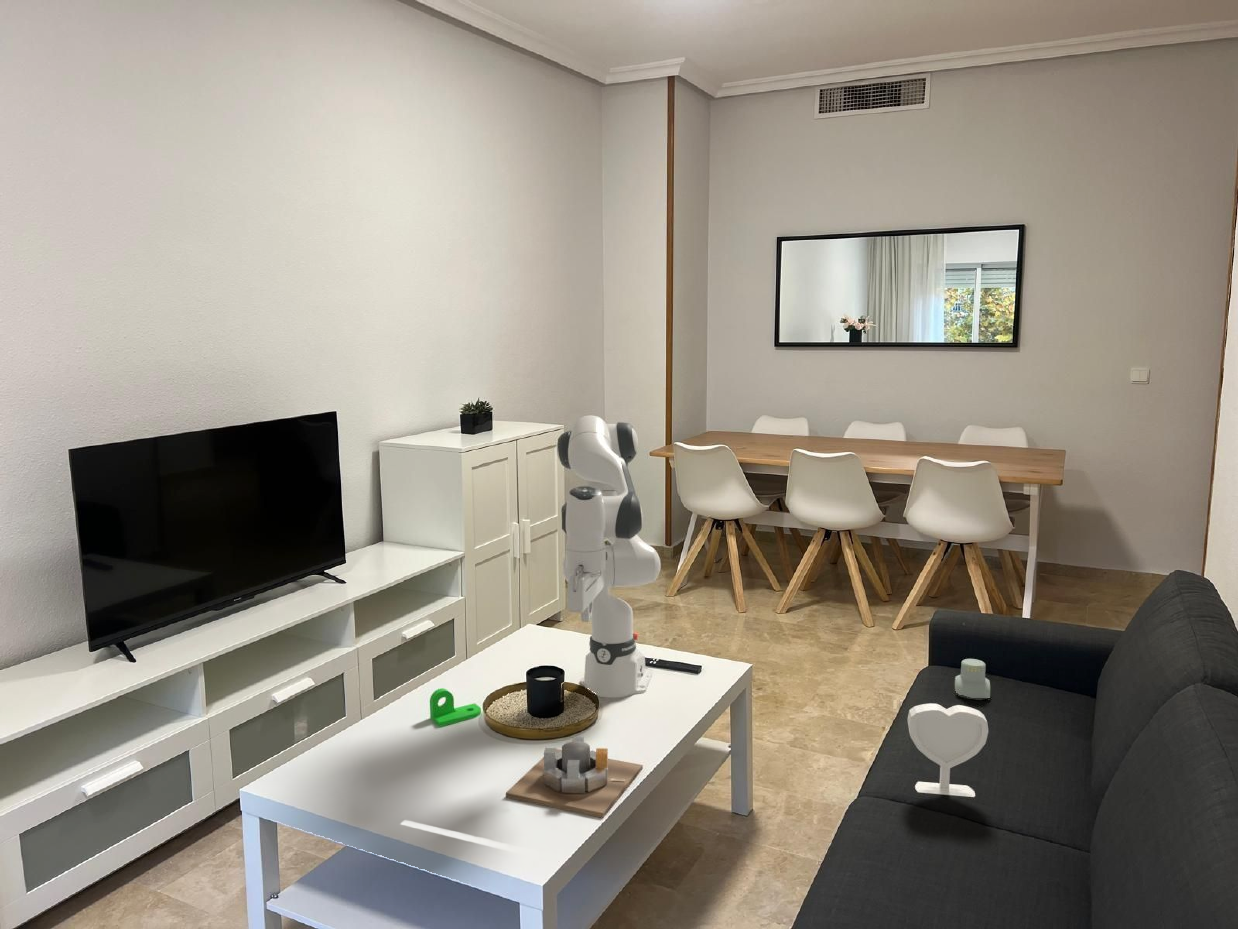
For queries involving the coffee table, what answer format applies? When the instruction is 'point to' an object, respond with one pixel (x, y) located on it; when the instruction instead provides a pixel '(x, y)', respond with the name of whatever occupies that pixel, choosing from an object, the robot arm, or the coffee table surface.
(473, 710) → the mechanical part
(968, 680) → the air freshener
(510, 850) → the coffee table surface
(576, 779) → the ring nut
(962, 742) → the heart sculpture
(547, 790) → the base plate
